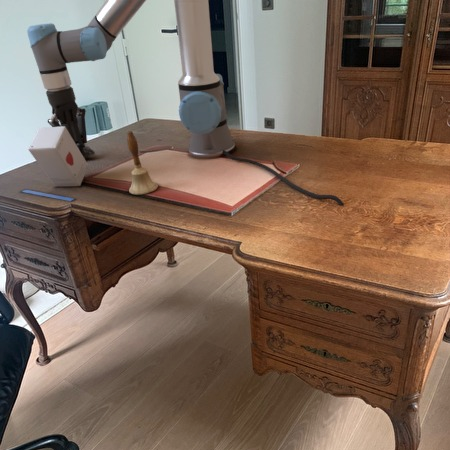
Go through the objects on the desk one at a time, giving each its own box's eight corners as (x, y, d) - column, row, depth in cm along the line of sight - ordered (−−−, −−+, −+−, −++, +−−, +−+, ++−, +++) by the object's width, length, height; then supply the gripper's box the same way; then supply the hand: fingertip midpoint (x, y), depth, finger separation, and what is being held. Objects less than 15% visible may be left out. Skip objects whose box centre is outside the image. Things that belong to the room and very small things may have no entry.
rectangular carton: (80, 187, 132) (54, 148, 119) (54, 187, 134) (26, 149, 122) (89, 164, 136) (65, 125, 124) (64, 165, 139) (38, 126, 126)
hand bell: (130, 197, 121) (116, 138, 112) (127, 186, 128) (113, 130, 119) (160, 191, 123) (148, 132, 113) (155, 181, 129) (144, 125, 120)
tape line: (74, 199, 125) (74, 198, 125) (70, 201, 124) (70, 200, 124) (25, 190, 135) (25, 189, 135) (21, 192, 134) (21, 191, 134)
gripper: (67, 82, 131) (89, 160, 145) (31, 93, 122) (59, 175, 136) (84, 83, 127) (105, 163, 141) (49, 94, 119) (76, 177, 133)
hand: (83, 168), depth 139 cm, fingers closed
